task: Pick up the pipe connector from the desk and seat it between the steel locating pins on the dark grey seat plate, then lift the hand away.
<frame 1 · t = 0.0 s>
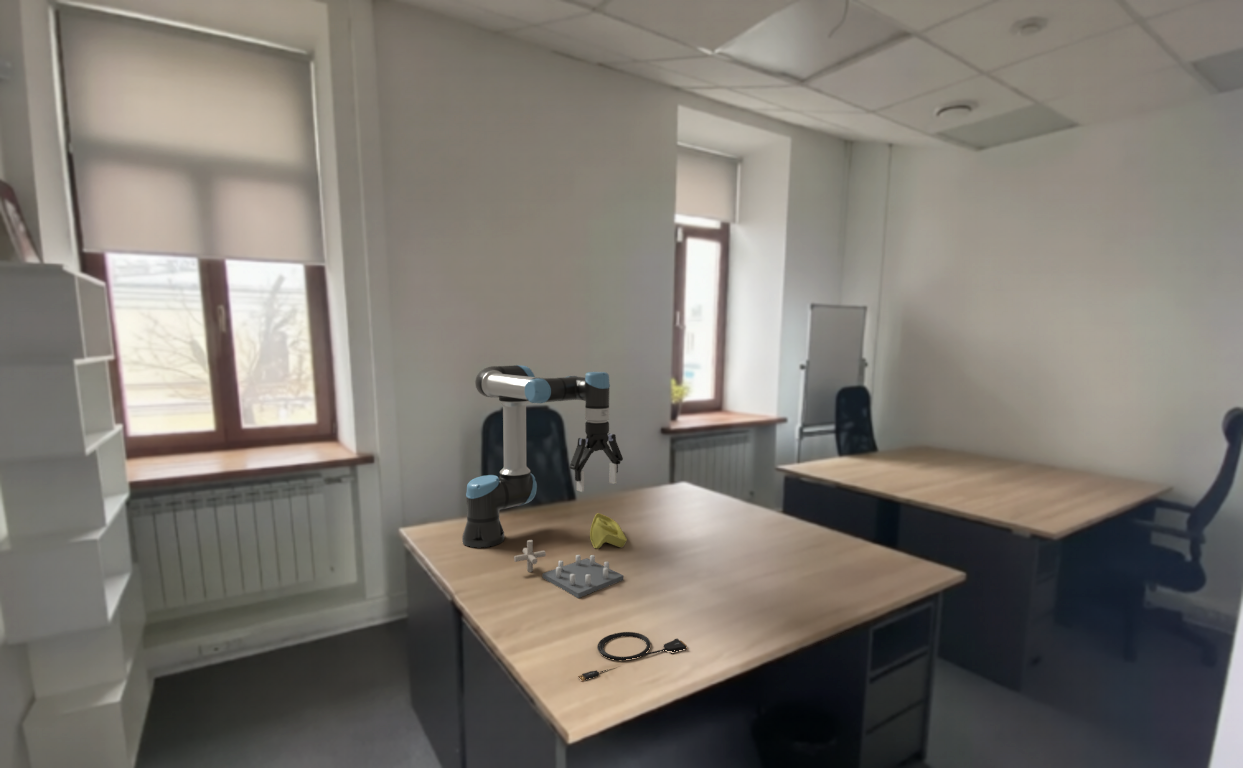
hand: (596, 487, 172), 28 cm above the table, tool pointing down, fingers open, 13 cm apart
cable: (624, 652, 131), on the table
plastic component: (607, 540, 203), on the table
seat plate: (582, 579, 170), on the table
pipe connector: (530, 571, 175), on the table
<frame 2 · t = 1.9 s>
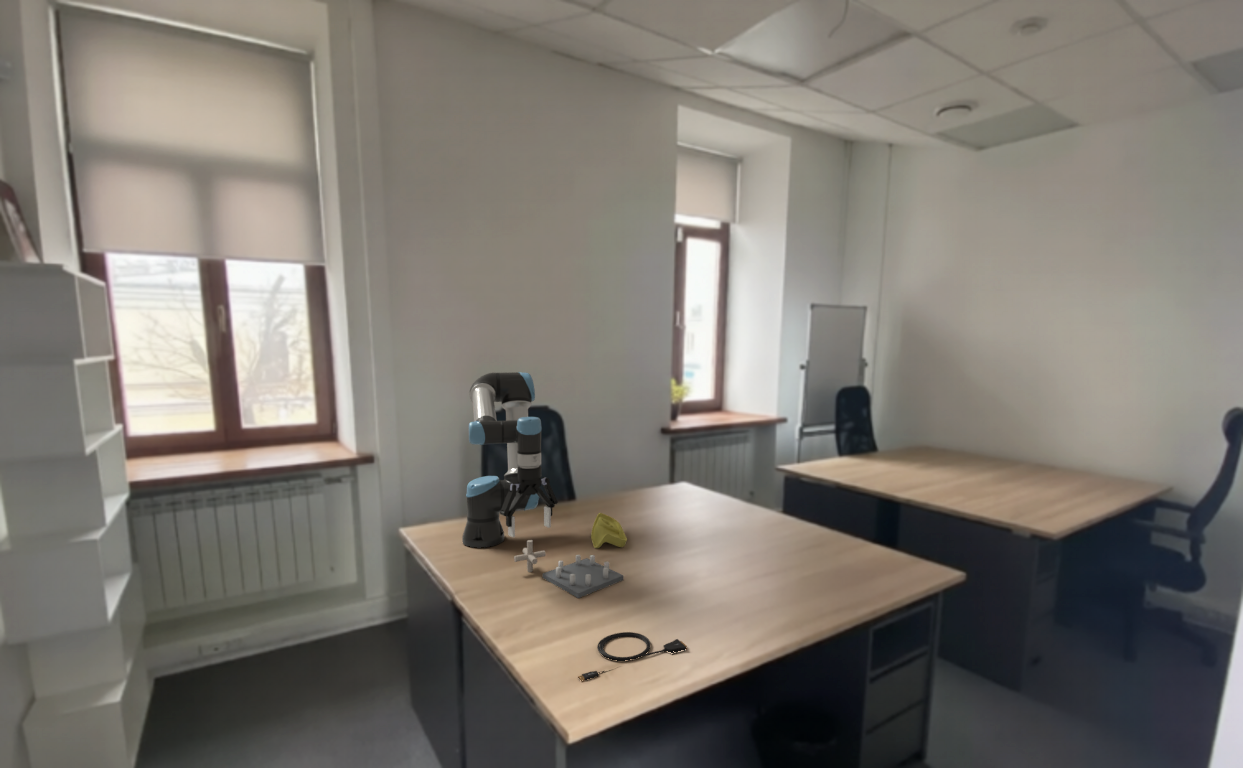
hand: (529, 531, 174), 13 cm above the table, tool pointing down, fingers open, 13 cm apart
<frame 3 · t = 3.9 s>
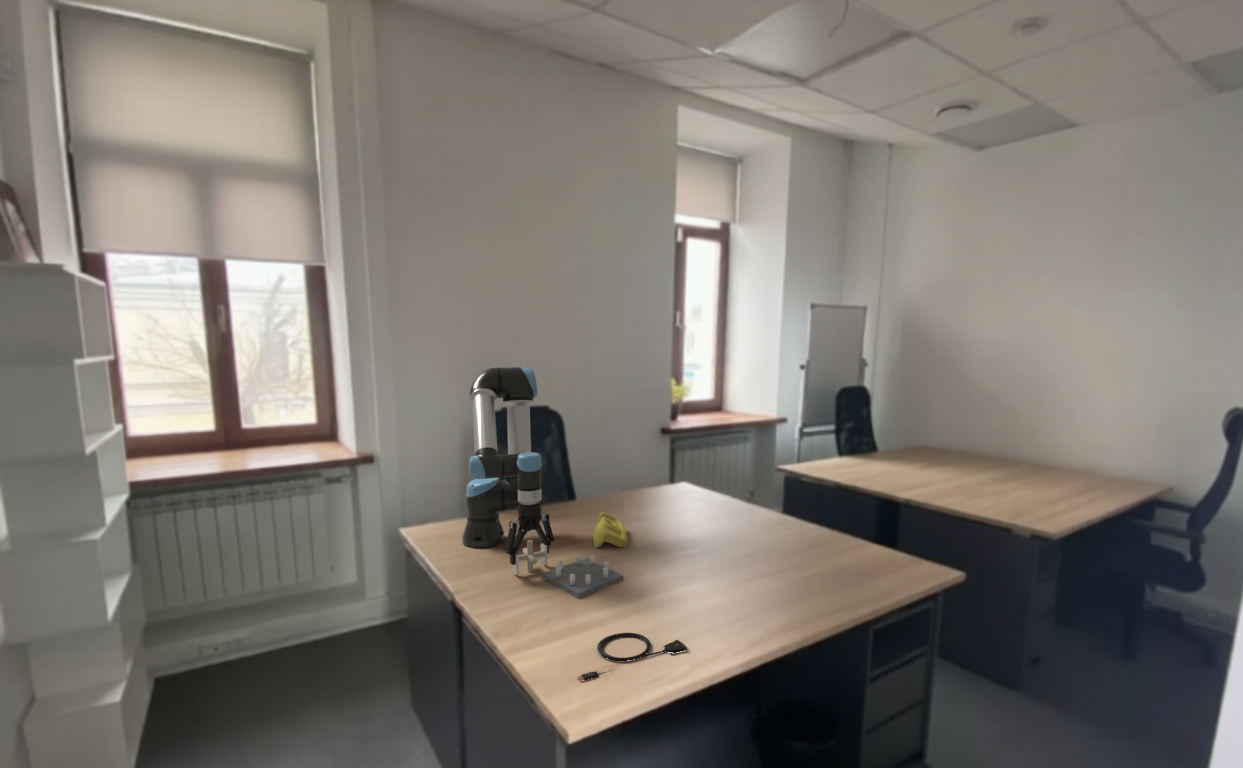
hand: (530, 568, 175), 1 cm above the table, tool pointing down, fingers closed on pipe connector, 10 cm apart
pipe connector: (530, 571, 175), on the table, touching gripper
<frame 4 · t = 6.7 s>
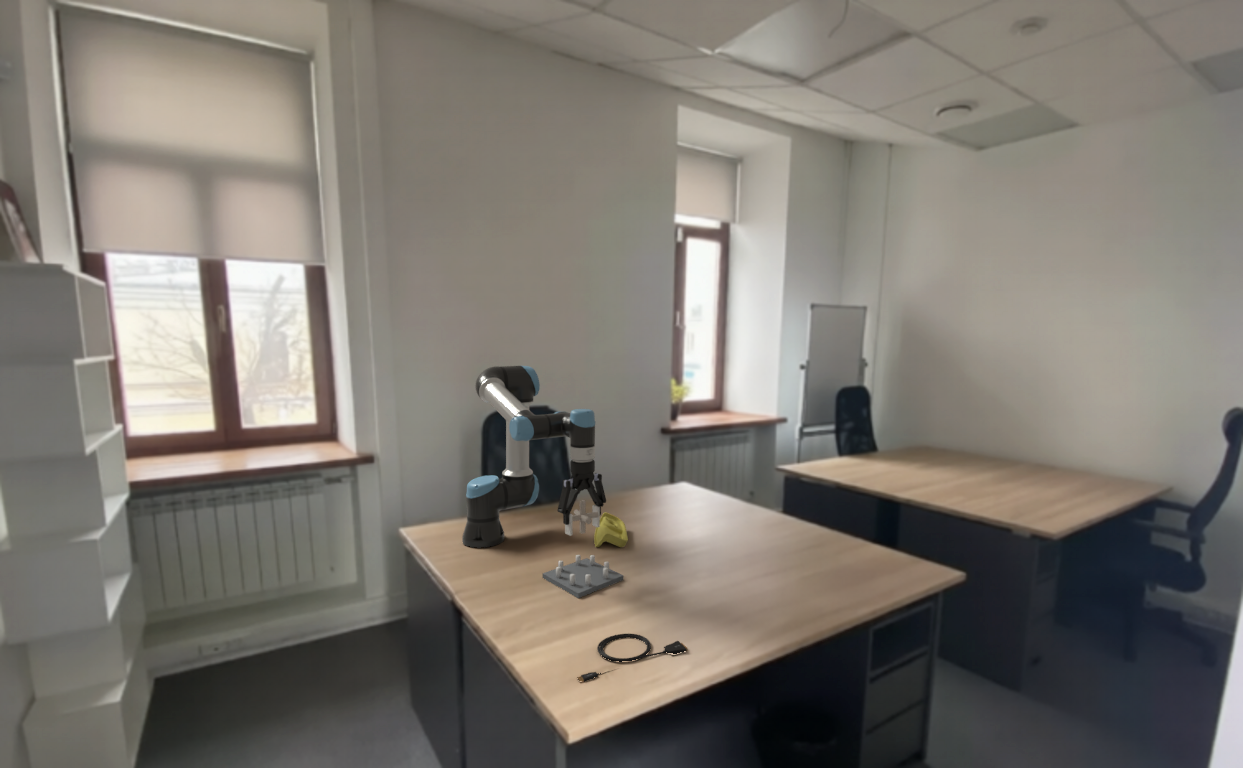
hand: (582, 530, 168), 16 cm above the table, tool pointing down, fingers closed on pipe connector, 10 cm apart
pipe connector: (582, 533, 168), point 15 cm above the table, touching gripper
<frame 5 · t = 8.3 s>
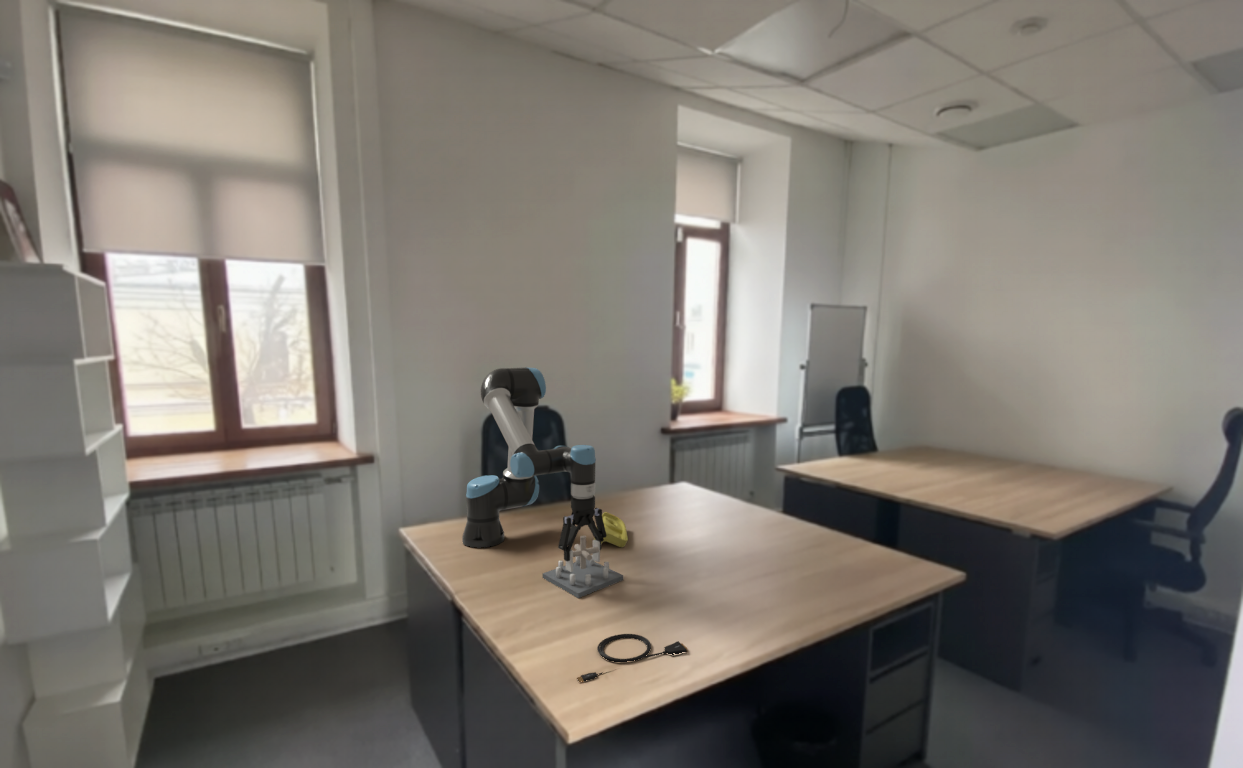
hand: (583, 565, 169), 4 cm above the table, tool pointing down, fingers closed on pipe connector, 10 cm apart
pipe connector: (583, 568, 169), point 3 cm above the table, touching gripper
when the fingers open (4 cm above the table, at t = 9.3 s): pipe connector drops 1 cm, resting on seat plate.
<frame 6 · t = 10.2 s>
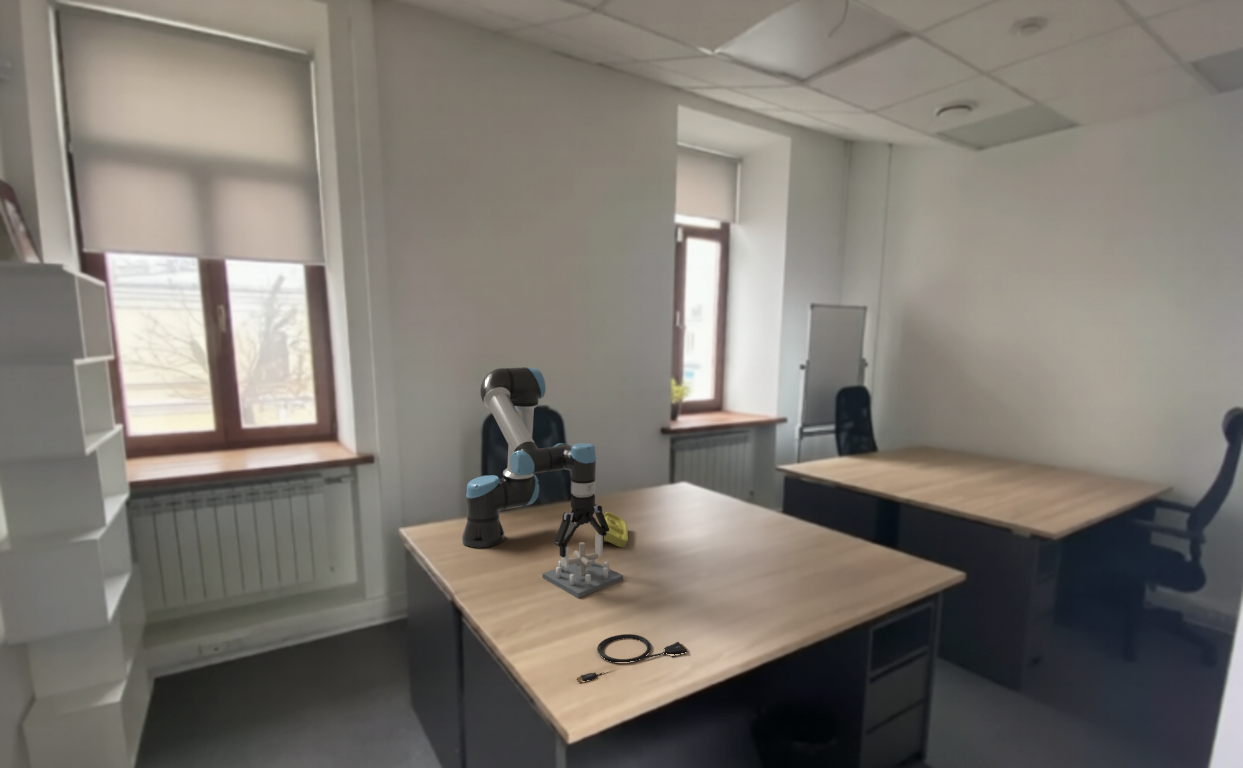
hand: (582, 560, 169), 6 cm above the table, tool pointing down, fingers open, 13 cm apart
pipe connector: (582, 574, 169), point 1 cm above the table, touching seat plate
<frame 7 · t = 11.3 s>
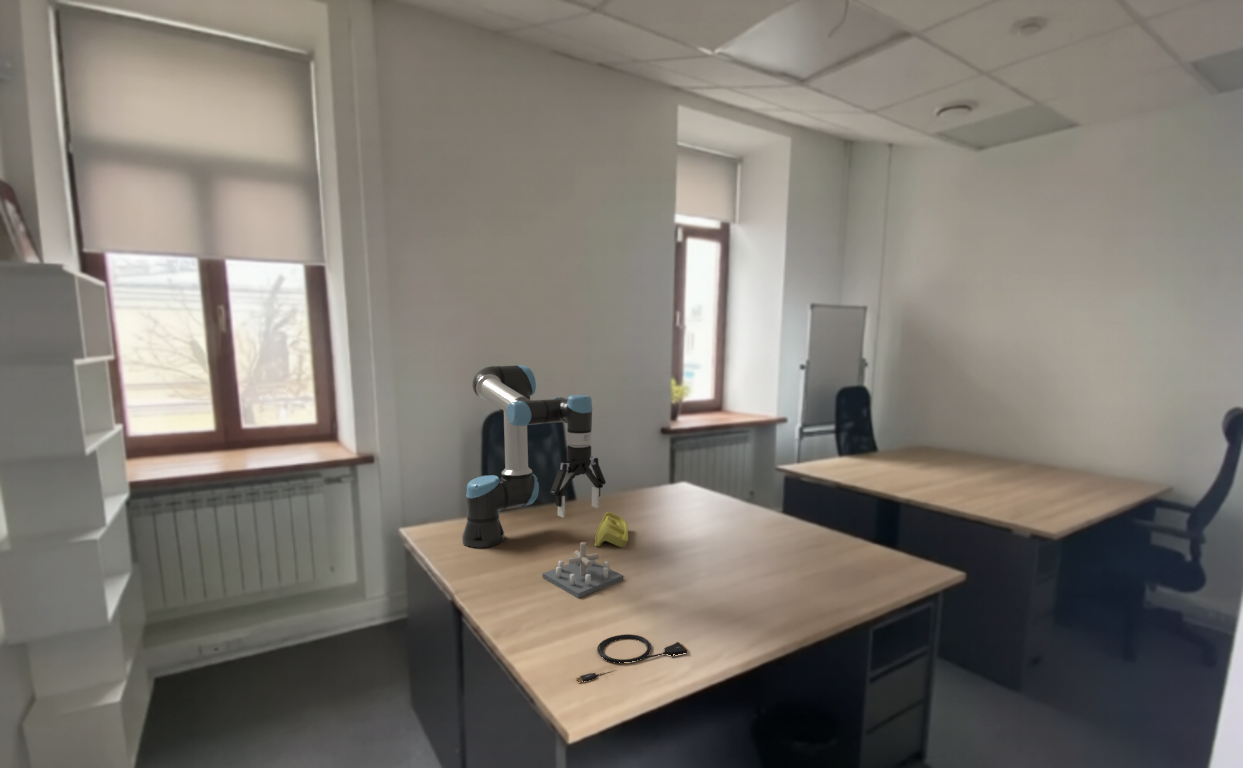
hand: (578, 511, 170), 21 cm above the table, tool pointing down, fingers open, 13 cm apart
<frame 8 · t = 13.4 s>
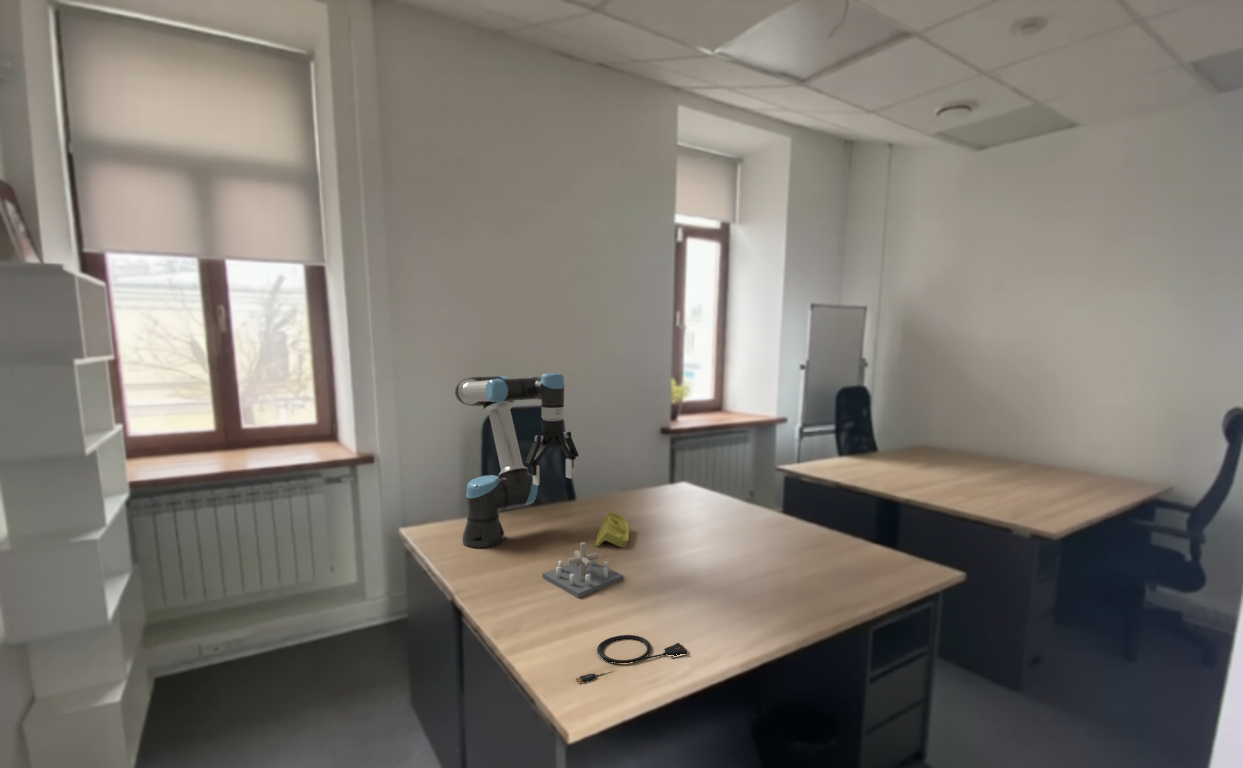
hand: (552, 481, 184), 27 cm above the table, tool pointing down, fingers open, 13 cm apart
at the end: pipe connector 0.0 cm off-centre on the seat plate, point 1.3 cm above the seat plate's base; the gripper is holding nothing; pipe connector tilted 0° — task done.
